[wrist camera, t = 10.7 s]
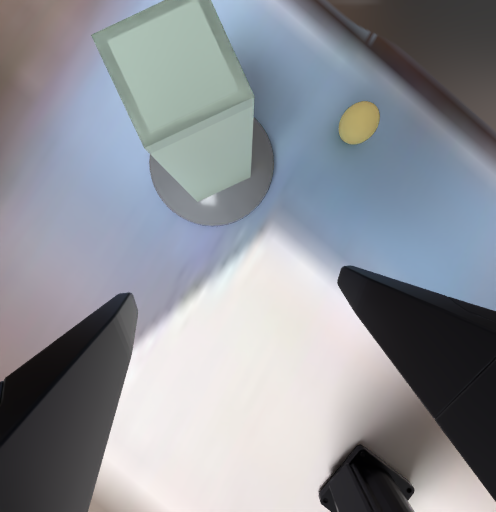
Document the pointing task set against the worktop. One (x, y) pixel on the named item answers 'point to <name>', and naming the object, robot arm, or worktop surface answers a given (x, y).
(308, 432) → the worktop surface
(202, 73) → the pale green block
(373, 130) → the mustard ball
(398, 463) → the worktop surface
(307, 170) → the worktop surface
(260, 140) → the coaster
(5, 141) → the worktop surface
